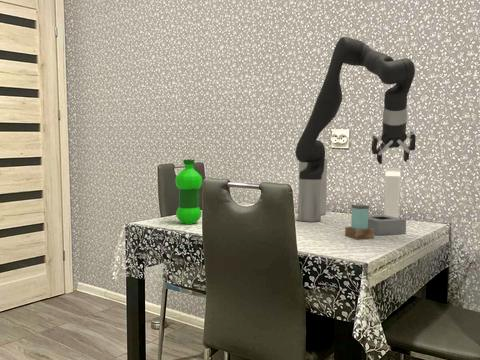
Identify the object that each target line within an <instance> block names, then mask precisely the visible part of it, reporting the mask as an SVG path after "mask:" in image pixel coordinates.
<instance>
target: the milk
mask: <svg viewBox="0 0 480 360" xmlns="http://www.w3.org/2000/svg"><path fill="white" fill-rule="evenodd" d="M401 170H402V169H401V168H400V167H385V173H384V175H385V178H384V203H383V204H384V205H383V215H387V216H392V217H396V218H400V199H401V198H400V196H401Z"/></svg>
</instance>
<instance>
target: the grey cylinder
mask: <svg viewBox="0 0 480 360" xmlns="http://www.w3.org/2000/svg"><path fill="white" fill-rule="evenodd" d="M307 163H308V162H300V161H298V174H299V173H300V172H301V171H302V170H304V169H305V168H306V167H307ZM327 179H328V158H325V162H324V172H323V174H322V189H321V216H322V215H325V214H326V213H327V189H328V188H327V184H328V183H327ZM297 199H298V200H297V201H298V203H299V193H298V198H297ZM298 203H297V204H298Z"/></svg>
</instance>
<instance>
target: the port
mask: <svg viewBox="0 0 480 360" xmlns="http://www.w3.org/2000/svg"><path fill="white" fill-rule="evenodd" d="M368 228H370V229H374V236H378V237H379V236H391V235H392V236H393V235H404V234H405V235H406V234H407V219H405V218H400V217H399V218H396V217H392V216H387V215H384V214H378V215H368Z"/></svg>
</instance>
